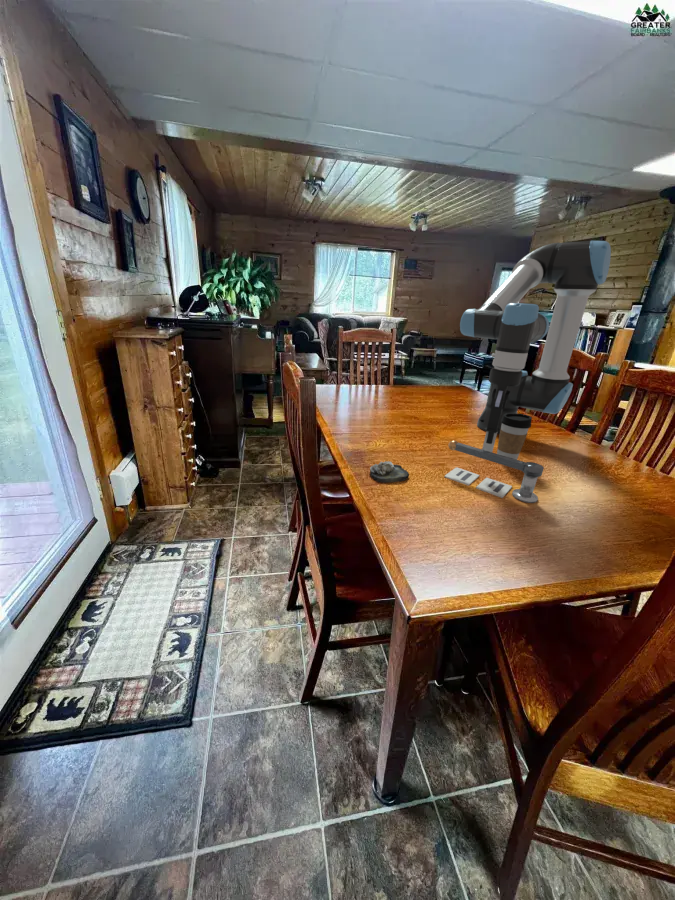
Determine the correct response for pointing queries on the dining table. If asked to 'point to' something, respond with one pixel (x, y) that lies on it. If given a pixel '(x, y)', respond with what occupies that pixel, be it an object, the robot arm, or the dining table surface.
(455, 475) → the label
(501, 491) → the label
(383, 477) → the dark grey lumpy mound
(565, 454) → the dining table surface
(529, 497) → the post
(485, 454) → the swing arm
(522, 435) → the coffee cup
